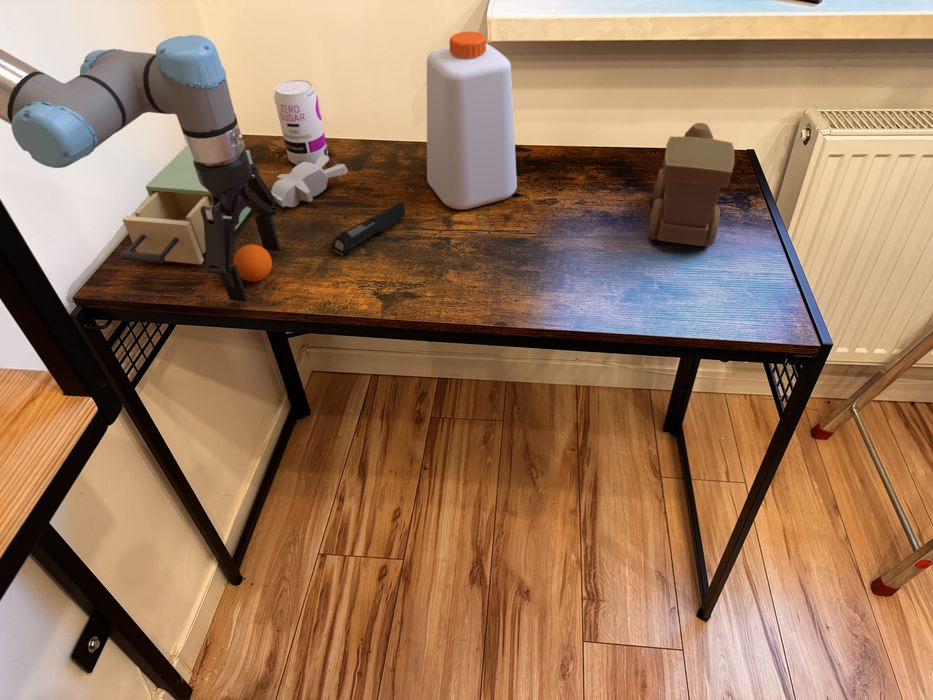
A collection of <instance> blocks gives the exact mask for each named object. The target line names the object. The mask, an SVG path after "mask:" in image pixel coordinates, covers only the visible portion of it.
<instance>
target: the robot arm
mask: <svg viewBox="0 0 933 700" xmlns="http://www.w3.org/2000/svg"><path fill="white" fill-rule="evenodd" d="M147 113H154V114H162V115H175V116H176V118H177V121H178V124H179V127H180V129H181V131H182V135H183V138H184V141H185V144H186V146H187V148H188V151H189V154H190V157H191V158H192V159H193V160H194V162H193V164H194V167H195V170H196V173H197V176H198V178H199V181H200V183H201V185H202V186H203V187H205V188H206V189H207V190H208V191H209V192H210V193H211V199H212V204H211V205H209V206H202V207H201V215H202V218H203V222H204V235H205V250H206V251H205V260H206V261H205V264H206V273H207V274H211V275H212V274H213V275H219V277H220V280H221V283H222V285H223V287H224V289H225V291H226V293H227V296H228V300H229V301H236V302H245V303H246V302H247V300H248V296H247V293H246V290H245V286H244V284H243V279H242V278H241V277H240V274H239V271H238V268H237V265H234V264H233V260H234V256H235V254H234V253H235V242H236V241H235V240H236V230H235V227H236V225H238V224H239V215H240V214H241V212H242V210H243V209H245V208H246V206H247V207H248V208H250V209H251V211H253V212H254V213H255V214H256V215H255V217H254V220H255V224H256V227H257V230H258V234H259V237H260V241H261V243H262V244H261V245H262V247H263V248H264V249H265V250H266V251H271V252H280V251H281V245H280V241H279V238H278V234H277V230H276V227H275V223H274V219H273V216H276V215H278V209H277V207H273V206H276V205H277V203H276V199H275V197H274V196H273V194H272V193H271V190H270V189H269V187H268V185H267V184H266V183H265V180H263V178H262V177H261V175H260V173H259V171H258V167H257V165H256V163H253V164H250V163H249V159H248V156H247V152H246V151H245V150H246V149H245V143H244V137H243V134H242V133H241V129H240V125H239V123H238V122H239V121H238V118H237V114H236V112H235V109H234V105H233V101H232V98H231V93H230V89H229V84H228V80H227V72H226V70H225V68H224V66H223V64H222V62H221V59H220V55H219V52H218V49H217V47H216V45H215V43H214V42H213V41H212V40H210V39H209V38H207V37H206V36H202V35H198V34H189V35H184V36H183V35H178V36H173V37H170V38H167V39H165V40H163V41H161V42H159V43H158V45H157V46H156V48H155V53H150V52H141V51H131V50H123V49H121V48H120V49H117V48H110V49H97V50H93V51H90V52H89V53H88V54H87V55H85V57H84V61H83V63H82V64H81V65H80V68H79V75H77V76H75V77H74V78H73V79H71V80H68V81H67V82H61V81H60V80H58V79H56V78H54V77H52V76H51V75H49V74H47V73H44V72H43V71H41V70H39V69H37V68H36V67H34V66H32V65H30V64H28V63H27V62H25V61H23V60H21V59H19V58H18V57H16V56H14V55H12V54H11V53H8V52H7V51H5V50H3V49H1V48H0V120H2V121H4V122H5V123H8V124H9V125H11V131H12V135H13V137H14V139H15V141H16V143H17V145H18V146H19V147H20V149H21V150H23V151H24V152H27V153H28V154H30V156H31V159H32V160H34V161H35V162H37V163H39V164H40V165H43V166H45V167H47V168H48V167H49V168H54V169H63V168H66V167H68V166H70V165H72V164H75V163H76V162H78V161H80V160H81V159H83V158H85V157H87V156H89V155H91V154H92V153H93V152H94V151H95V149H96V148H97V147H99V146H101V145H102V144H103V143H105V142H106V141H107V140H109V138H111V137H112V136H113V135H115V134H116V133H118V132H119V131H121V130H123V129H124V128H125V127H127V126H129V124H131V123H132V122H134V121H135V120H137V119H138V118H139V117H140V116H142V115H143V114H147ZM224 215H225V216H228V217H232V218H231V219H224V218H223V217H224Z"/></svg>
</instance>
